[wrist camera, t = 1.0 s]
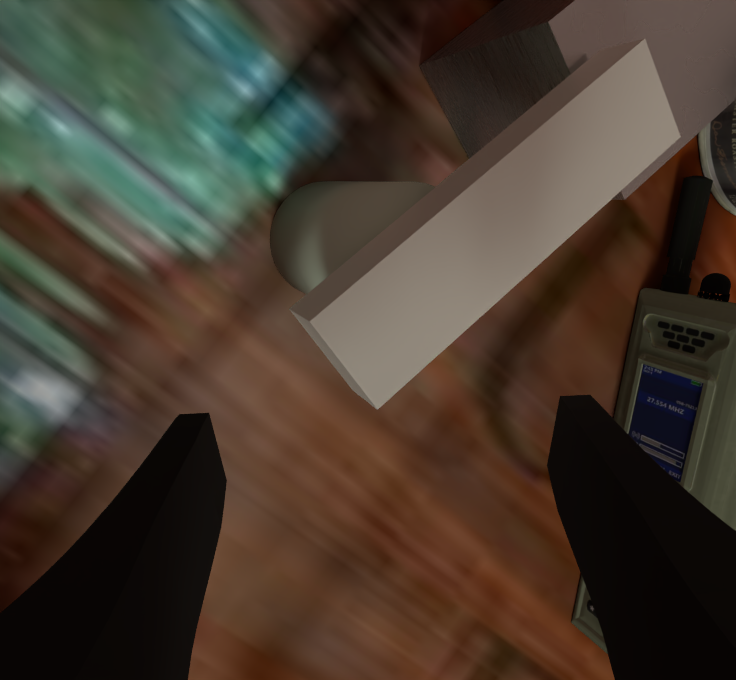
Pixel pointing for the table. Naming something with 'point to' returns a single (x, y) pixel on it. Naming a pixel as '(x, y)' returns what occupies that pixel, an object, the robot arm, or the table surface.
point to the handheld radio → (681, 380)
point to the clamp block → (572, 49)
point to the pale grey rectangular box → (489, 223)
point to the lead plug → (334, 225)
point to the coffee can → (720, 156)
